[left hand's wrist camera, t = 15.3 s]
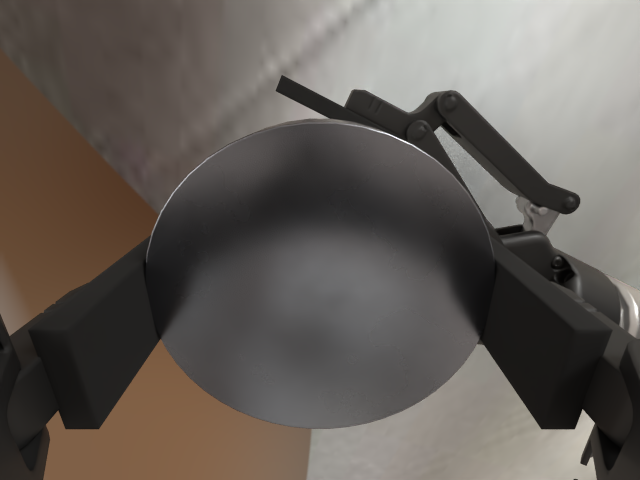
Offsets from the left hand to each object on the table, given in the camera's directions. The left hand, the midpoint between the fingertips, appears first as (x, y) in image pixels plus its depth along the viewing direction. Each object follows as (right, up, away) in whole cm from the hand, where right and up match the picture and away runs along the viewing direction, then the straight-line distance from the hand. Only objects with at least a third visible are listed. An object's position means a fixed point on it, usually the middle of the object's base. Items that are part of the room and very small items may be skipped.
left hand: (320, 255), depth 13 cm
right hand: (-4, +4, +6) cm, 8 cm away
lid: (0, -1, -3) cm, 3 cm away
